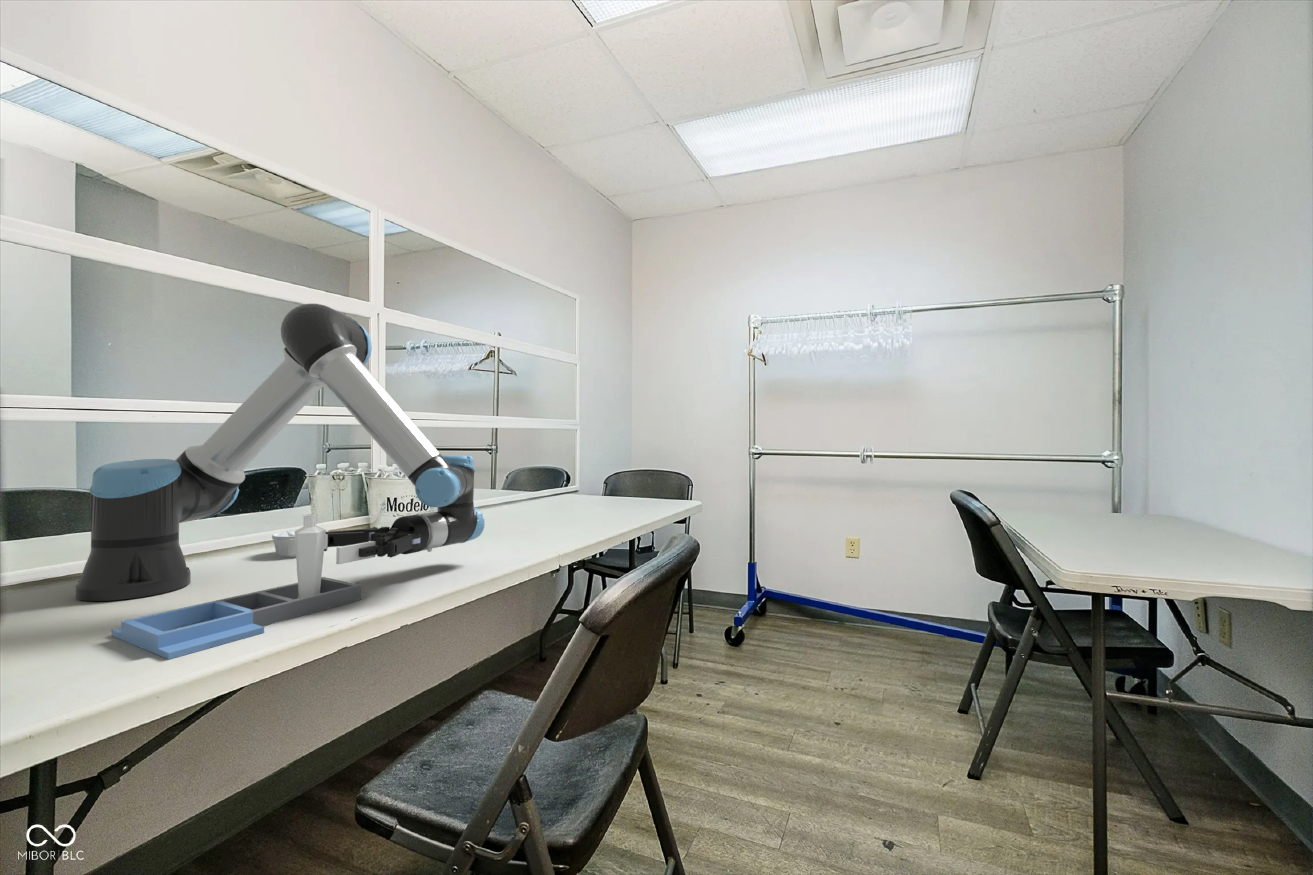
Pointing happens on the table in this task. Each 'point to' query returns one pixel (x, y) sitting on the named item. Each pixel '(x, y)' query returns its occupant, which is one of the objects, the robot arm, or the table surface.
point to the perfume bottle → (309, 556)
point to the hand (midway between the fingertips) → (312, 551)
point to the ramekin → (283, 542)
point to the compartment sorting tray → (229, 618)
